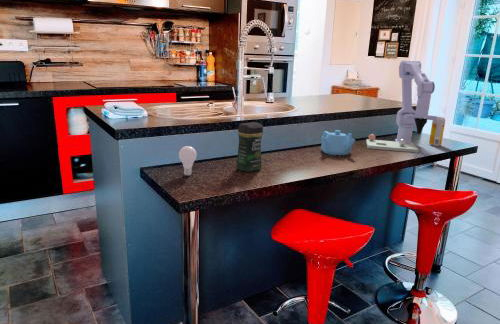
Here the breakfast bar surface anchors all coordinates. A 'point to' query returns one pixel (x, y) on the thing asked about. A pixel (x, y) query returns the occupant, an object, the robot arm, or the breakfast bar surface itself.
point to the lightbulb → (187, 158)
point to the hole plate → (391, 146)
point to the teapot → (336, 143)
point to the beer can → (437, 131)
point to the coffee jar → (249, 146)
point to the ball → (371, 137)
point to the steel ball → (402, 142)
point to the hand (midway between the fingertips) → (418, 133)
